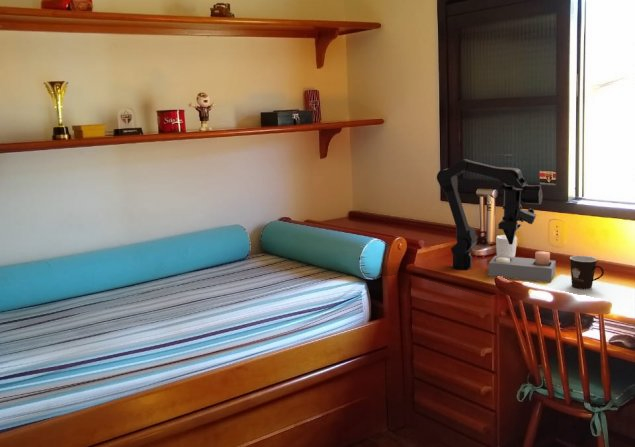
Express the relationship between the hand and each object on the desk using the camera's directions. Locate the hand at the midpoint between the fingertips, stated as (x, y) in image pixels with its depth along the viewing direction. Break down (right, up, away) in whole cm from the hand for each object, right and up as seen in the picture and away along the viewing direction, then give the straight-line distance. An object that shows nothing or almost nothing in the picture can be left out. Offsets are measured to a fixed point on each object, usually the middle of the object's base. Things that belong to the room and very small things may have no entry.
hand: (510, 244), depth 237 cm
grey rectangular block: (+4, -11, 0) cm, 12 cm away
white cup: (+4, -8, +20) cm, 22 cm away
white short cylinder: (-2, -10, +3) cm, 11 cm away
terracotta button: (+10, -7, -4) cm, 13 cm away
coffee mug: (+20, -15, -17) cm, 30 cm away
